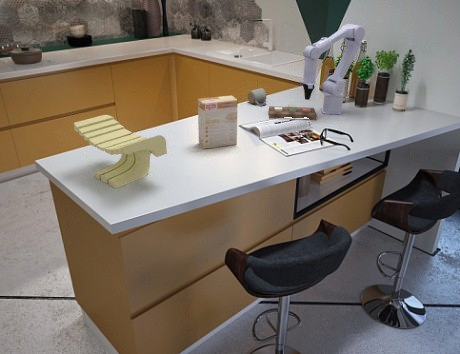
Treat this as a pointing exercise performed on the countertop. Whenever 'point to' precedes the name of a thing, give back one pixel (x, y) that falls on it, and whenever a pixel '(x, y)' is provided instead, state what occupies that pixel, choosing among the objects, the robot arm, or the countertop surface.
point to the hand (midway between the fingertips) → (307, 99)
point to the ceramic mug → (257, 97)
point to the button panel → (291, 113)
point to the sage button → (292, 108)
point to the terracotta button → (306, 110)
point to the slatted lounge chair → (120, 149)
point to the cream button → (278, 109)
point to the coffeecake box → (217, 121)
